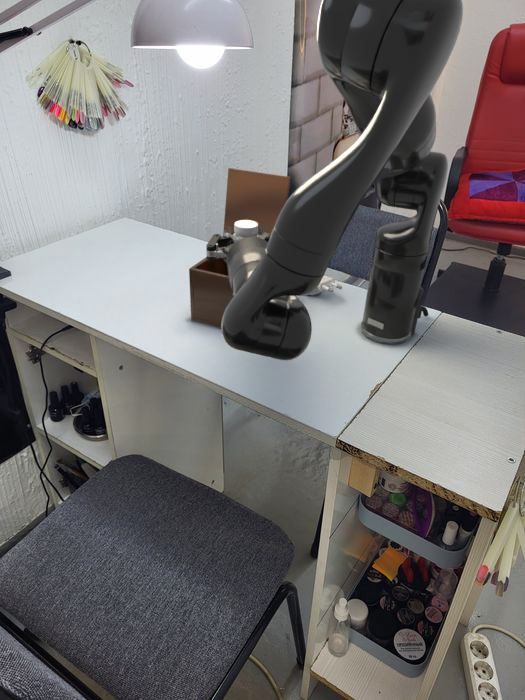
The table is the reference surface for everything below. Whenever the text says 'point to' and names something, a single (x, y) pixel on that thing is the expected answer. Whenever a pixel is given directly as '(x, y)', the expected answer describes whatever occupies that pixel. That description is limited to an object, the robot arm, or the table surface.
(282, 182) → the lid
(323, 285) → the power adapter
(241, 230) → the pill bottle
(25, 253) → the table surface
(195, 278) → the supply box
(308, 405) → the table surface
